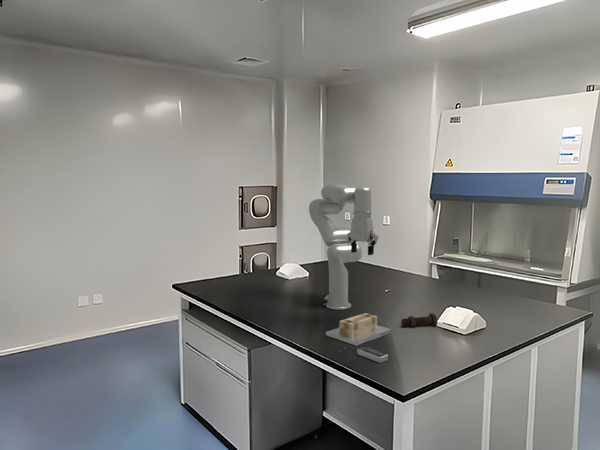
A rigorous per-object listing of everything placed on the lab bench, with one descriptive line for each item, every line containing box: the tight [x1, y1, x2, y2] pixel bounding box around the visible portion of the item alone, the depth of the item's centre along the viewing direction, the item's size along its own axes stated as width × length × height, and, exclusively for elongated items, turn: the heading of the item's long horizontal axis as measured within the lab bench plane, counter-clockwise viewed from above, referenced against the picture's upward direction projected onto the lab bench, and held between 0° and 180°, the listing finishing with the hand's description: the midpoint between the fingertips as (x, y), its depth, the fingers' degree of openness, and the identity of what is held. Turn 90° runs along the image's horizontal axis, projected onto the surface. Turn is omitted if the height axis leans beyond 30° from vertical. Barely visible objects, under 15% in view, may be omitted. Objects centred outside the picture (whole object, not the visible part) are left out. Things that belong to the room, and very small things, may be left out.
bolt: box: [400, 312, 438, 328], centre depth 198 cm, size 6×5×15 cm
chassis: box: [325, 324, 392, 347], centre depth 188 cm, size 16×22×4 cm
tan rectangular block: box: [339, 313, 378, 337], centre depth 188 cm, size 6×16×5 cm, turn 132°
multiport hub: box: [356, 345, 389, 364], centre depth 164 cm, size 4×11×2 cm, turn 40°
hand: (362, 253), depth 205 cm, fingers open, 9 cm apart
